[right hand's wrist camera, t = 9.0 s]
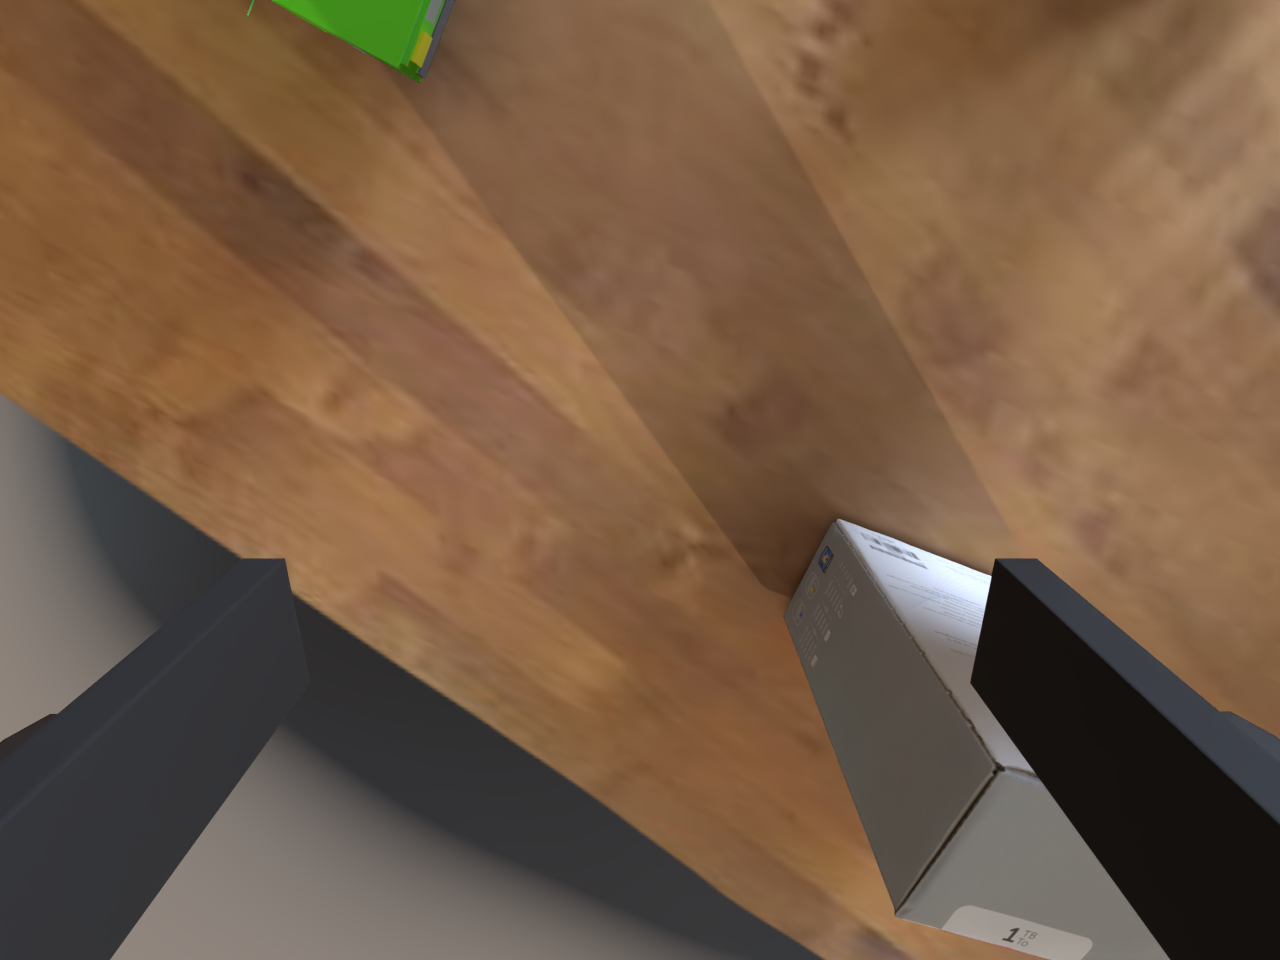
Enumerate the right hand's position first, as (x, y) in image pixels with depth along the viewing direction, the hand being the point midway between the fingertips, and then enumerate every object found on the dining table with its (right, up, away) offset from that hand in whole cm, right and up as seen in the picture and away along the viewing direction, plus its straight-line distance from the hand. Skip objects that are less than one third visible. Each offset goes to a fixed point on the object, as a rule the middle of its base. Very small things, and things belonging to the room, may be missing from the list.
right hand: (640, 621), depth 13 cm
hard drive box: (+17, -5, +30) cm, 35 cm away
